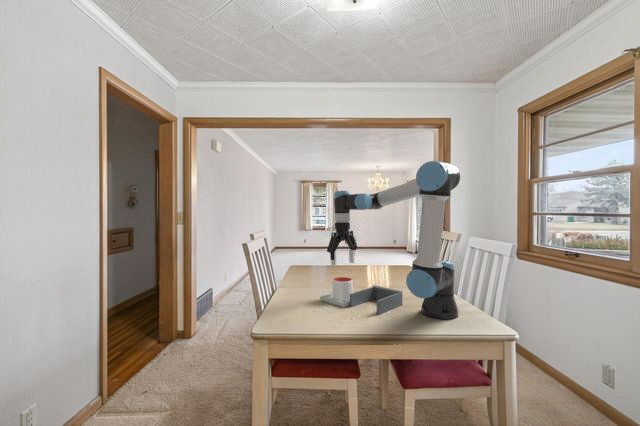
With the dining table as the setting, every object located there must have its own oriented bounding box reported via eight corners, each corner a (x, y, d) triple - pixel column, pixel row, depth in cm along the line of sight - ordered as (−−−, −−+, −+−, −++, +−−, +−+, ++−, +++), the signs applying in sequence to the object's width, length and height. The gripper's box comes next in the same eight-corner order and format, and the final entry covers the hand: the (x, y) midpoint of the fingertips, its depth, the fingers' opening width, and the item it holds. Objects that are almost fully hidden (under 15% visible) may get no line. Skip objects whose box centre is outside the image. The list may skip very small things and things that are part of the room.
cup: (352, 296, 165) (352, 277, 164) (352, 302, 155) (352, 281, 154) (333, 296, 166) (333, 276, 165) (332, 302, 156) (332, 281, 155)
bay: (402, 304, 152) (402, 290, 152) (379, 314, 139) (379, 299, 139) (373, 298, 164) (373, 284, 164) (349, 306, 150) (349, 292, 150)
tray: (365, 300, 160) (365, 296, 160) (344, 307, 149) (344, 303, 149) (341, 294, 172) (341, 290, 171) (320, 300, 160) (320, 296, 160)
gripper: (352, 220, 171) (353, 260, 171) (319, 222, 153) (320, 267, 153) (363, 220, 165) (364, 261, 166) (330, 223, 148) (331, 269, 148)
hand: (343, 264), depth 159 cm, fingers open, 13 cm apart
